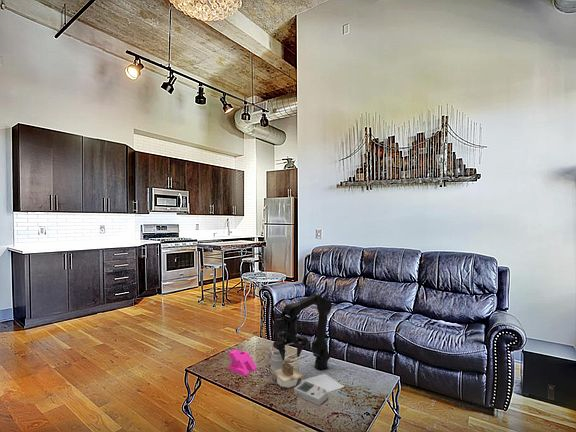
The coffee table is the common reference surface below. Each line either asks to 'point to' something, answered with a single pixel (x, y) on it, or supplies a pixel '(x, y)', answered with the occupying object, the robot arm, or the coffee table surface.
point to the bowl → (287, 383)
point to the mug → (274, 359)
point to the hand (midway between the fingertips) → (290, 358)
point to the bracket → (241, 362)
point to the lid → (287, 373)
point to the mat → (324, 382)
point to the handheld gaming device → (311, 392)
